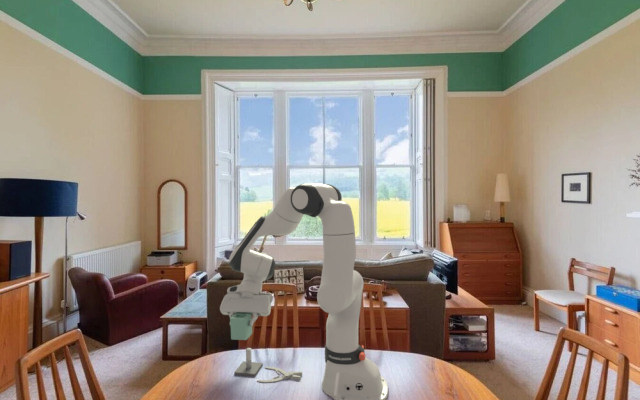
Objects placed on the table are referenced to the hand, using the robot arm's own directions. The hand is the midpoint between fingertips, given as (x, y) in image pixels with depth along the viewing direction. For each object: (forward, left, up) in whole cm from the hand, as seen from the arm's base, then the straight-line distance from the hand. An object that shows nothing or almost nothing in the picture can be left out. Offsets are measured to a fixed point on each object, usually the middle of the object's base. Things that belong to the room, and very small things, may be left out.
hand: (240, 325), depth 125 cm
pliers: (-17, +3, -17) cm, 24 cm away
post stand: (-3, +1, -16) cm, 17 cm away
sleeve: (0, -1, -4) cm, 4 cm away
